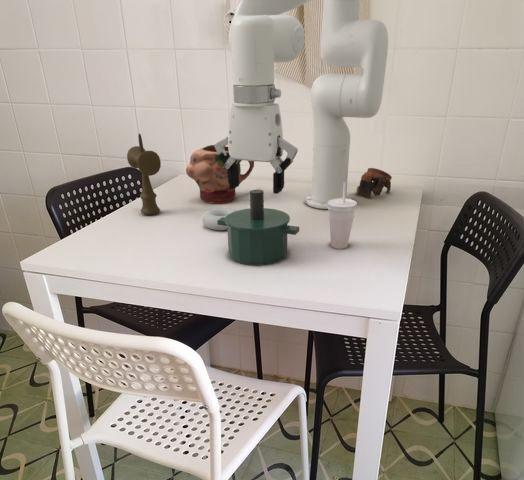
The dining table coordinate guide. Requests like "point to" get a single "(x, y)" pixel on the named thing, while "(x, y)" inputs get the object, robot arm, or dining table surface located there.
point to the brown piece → (377, 185)
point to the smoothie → (341, 219)
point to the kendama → (145, 174)
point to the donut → (216, 217)
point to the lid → (257, 216)
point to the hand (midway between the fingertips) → (255, 189)
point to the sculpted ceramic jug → (213, 175)
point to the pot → (258, 244)
